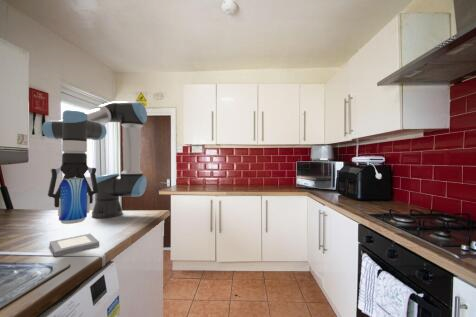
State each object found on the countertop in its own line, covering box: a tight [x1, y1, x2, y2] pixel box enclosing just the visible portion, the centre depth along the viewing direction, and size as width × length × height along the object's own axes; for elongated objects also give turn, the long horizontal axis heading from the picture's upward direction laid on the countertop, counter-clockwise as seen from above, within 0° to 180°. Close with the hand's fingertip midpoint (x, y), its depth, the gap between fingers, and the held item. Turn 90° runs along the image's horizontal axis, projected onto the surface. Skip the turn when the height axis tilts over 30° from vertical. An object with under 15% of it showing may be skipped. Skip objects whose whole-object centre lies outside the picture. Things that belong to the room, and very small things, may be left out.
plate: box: [49, 233, 100, 257], centre depth 85 cm, size 13×13×2 cm
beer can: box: [58, 177, 88, 225], centre depth 85 cm, size 8×8×16 cm
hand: (74, 214), depth 85 cm, fingers closed on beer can, 8 cm apart
